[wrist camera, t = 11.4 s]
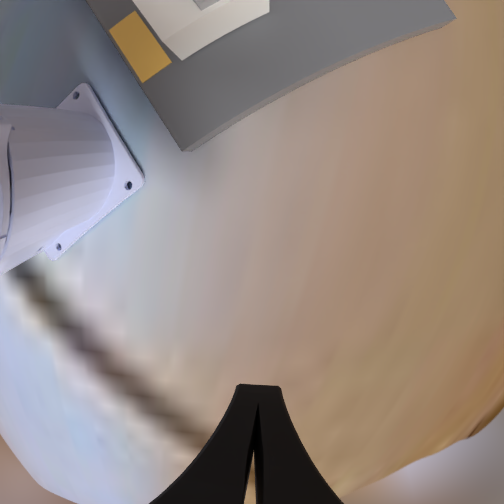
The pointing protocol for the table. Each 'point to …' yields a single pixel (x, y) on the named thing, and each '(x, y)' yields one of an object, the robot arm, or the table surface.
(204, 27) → the slider
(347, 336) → the table surface
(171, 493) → the robot arm
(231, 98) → the switch panel
